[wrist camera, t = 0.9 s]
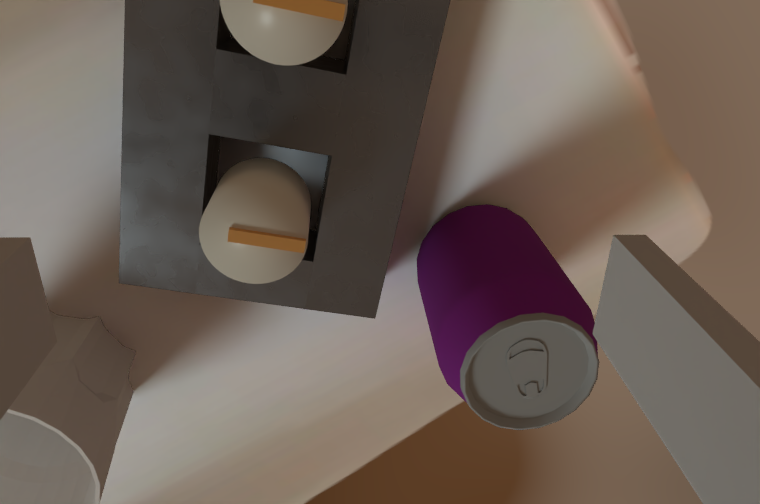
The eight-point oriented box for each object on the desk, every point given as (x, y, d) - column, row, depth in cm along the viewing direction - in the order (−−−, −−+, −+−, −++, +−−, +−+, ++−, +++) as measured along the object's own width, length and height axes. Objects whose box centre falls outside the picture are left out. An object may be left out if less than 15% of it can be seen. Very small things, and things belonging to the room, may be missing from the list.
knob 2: (210, 238, 31) (193, 278, 28) (219, 149, 29) (201, 179, 26) (303, 252, 32) (299, 293, 28) (317, 167, 30) (315, 198, 26)
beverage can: (542, 293, 39) (620, 421, 29) (426, 320, 40) (461, 457, 29) (528, 184, 36) (611, 284, 25) (401, 215, 36) (430, 327, 25)
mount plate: (140, 250, 36) (118, 283, 32) (157, -193, 27) (129, -215, 23) (371, 283, 38) (374, 318, 35) (461, -116, 29) (479, -125, 25)
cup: (71, 444, 42) (1, 576, 33) (-47, 347, 38) (-162, 467, 29) (183, 378, 40) (141, 498, 32) (72, 268, 36) (-12, 371, 27)
